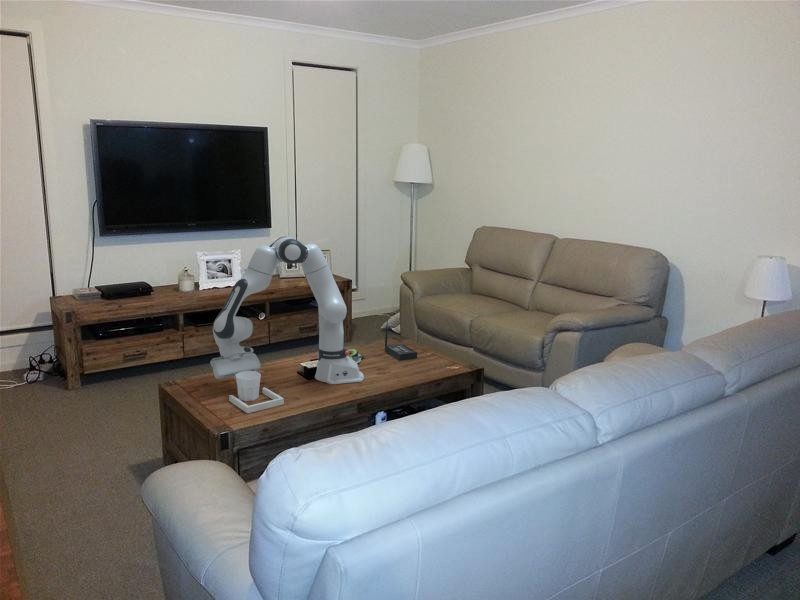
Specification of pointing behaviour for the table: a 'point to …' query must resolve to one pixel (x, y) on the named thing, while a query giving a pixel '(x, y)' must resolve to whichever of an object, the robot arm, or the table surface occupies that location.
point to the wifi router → (399, 350)
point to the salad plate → (355, 355)
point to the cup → (248, 385)
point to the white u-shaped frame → (260, 406)
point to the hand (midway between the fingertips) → (243, 383)
